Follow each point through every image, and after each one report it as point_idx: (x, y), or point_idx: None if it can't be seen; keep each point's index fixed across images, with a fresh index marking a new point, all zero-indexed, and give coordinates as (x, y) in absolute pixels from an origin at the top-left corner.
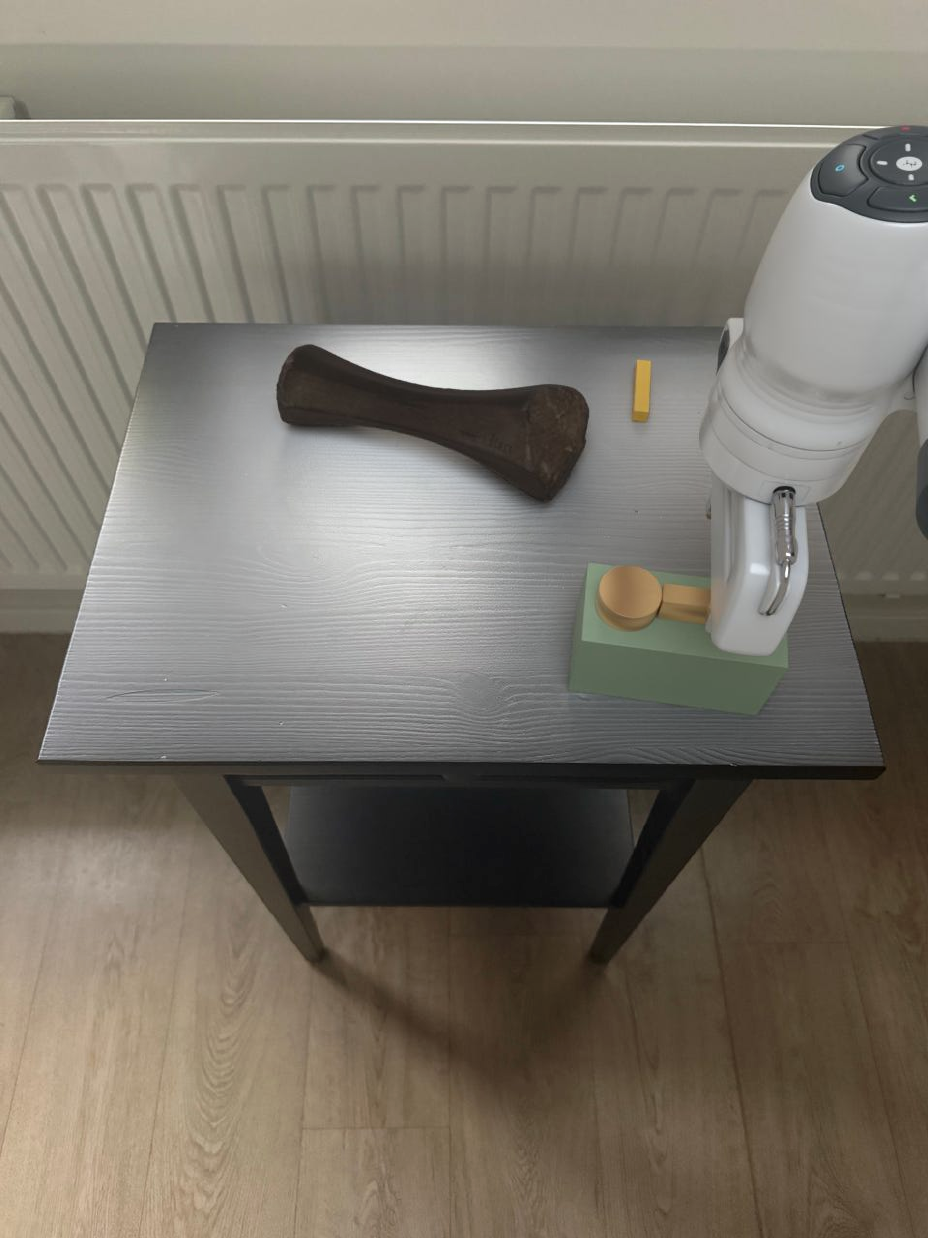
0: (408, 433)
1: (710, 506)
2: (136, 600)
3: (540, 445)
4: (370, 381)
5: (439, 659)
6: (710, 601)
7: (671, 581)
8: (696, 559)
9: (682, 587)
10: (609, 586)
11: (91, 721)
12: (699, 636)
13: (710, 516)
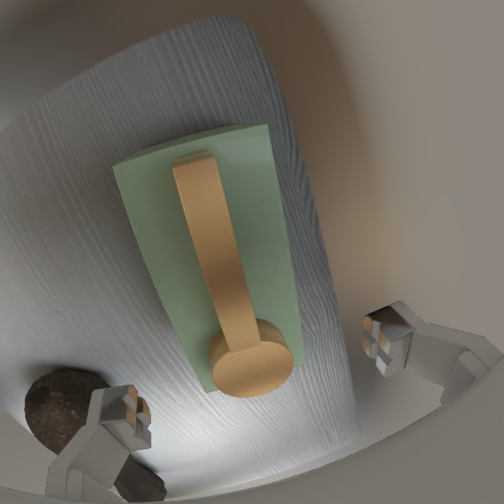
0: (136, 464)
1: (149, 439)
2: (287, 462)
3: None
4: (129, 490)
5: None
6: (382, 373)
7: (184, 319)
8: (69, 243)
9: (228, 333)
10: (256, 389)
11: (346, 440)
12: (259, 261)
13: (146, 411)
